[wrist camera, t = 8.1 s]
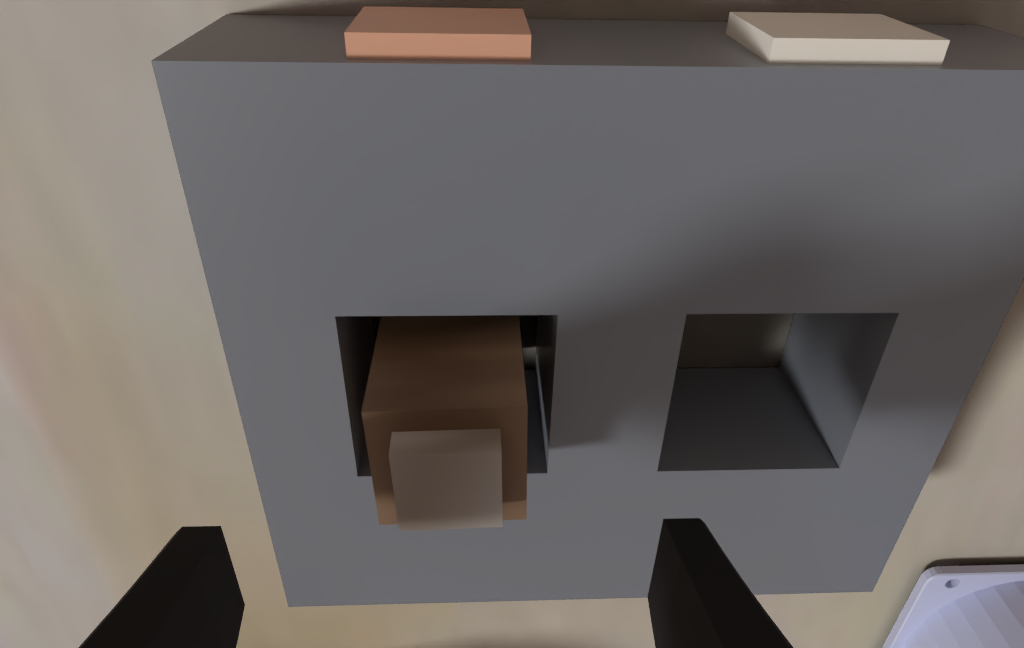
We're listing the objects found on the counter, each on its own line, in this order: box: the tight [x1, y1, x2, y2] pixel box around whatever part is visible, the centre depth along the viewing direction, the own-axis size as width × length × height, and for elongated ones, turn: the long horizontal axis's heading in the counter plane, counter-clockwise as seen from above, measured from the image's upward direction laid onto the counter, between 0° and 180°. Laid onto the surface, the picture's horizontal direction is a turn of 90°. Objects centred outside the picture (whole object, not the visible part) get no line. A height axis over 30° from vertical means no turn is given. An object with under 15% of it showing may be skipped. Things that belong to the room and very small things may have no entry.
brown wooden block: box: [361, 315, 528, 531], centre depth 16 cm, size 3×3×7 cm
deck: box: [152, 6, 1024, 607], centre depth 17 cm, size 16×14×4 cm
